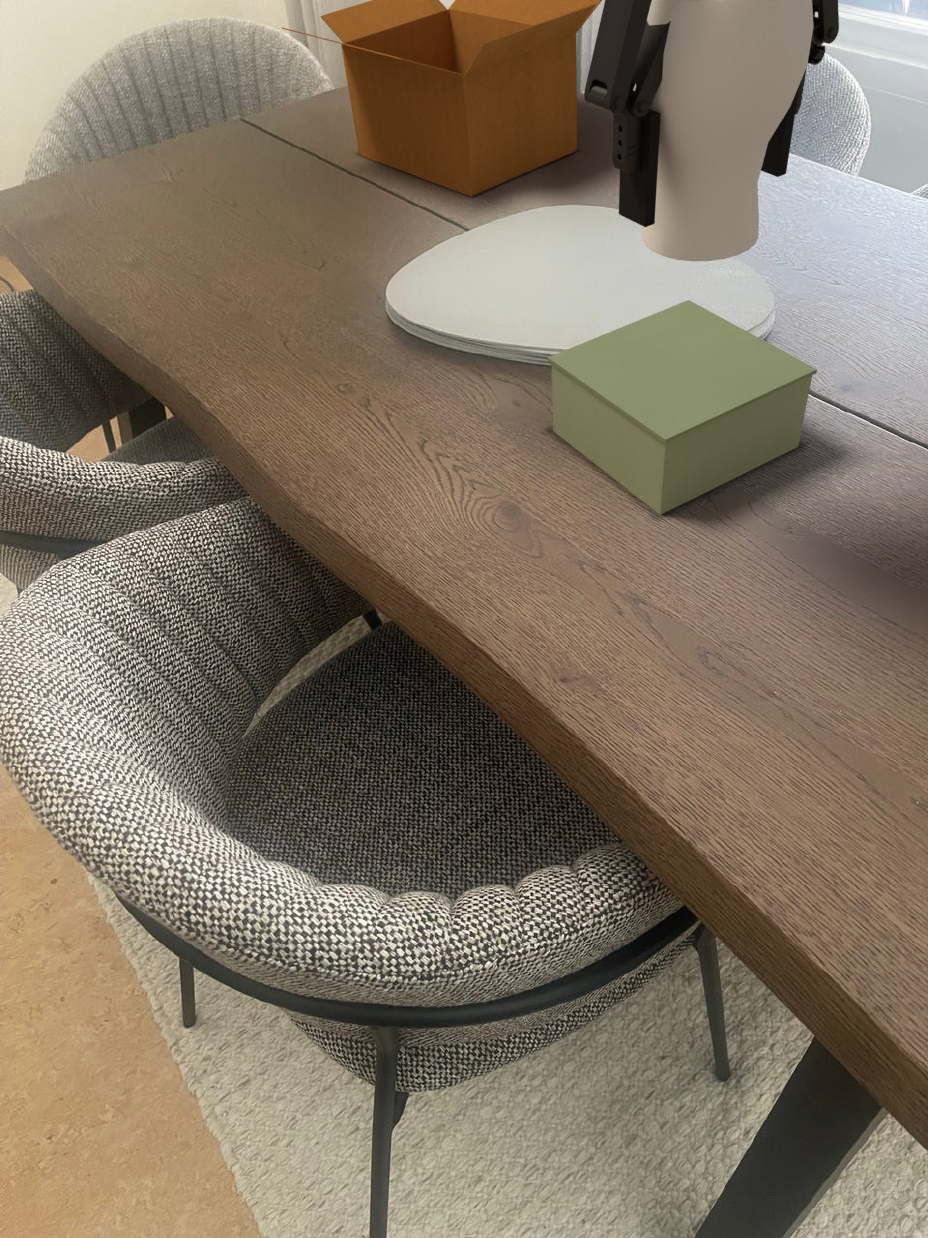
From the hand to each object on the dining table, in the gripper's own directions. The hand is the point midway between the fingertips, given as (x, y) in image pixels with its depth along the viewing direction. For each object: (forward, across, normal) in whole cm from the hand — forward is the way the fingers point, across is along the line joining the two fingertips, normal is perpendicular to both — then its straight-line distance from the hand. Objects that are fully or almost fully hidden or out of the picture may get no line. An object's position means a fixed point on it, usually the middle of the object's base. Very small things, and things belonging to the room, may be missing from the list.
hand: (703, 193), depth 62 cm
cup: (+3, 0, 0) cm, 3 cm away
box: (+27, -30, -86) cm, 95 cm away
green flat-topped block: (+27, -6, -8) cm, 28 cm away
